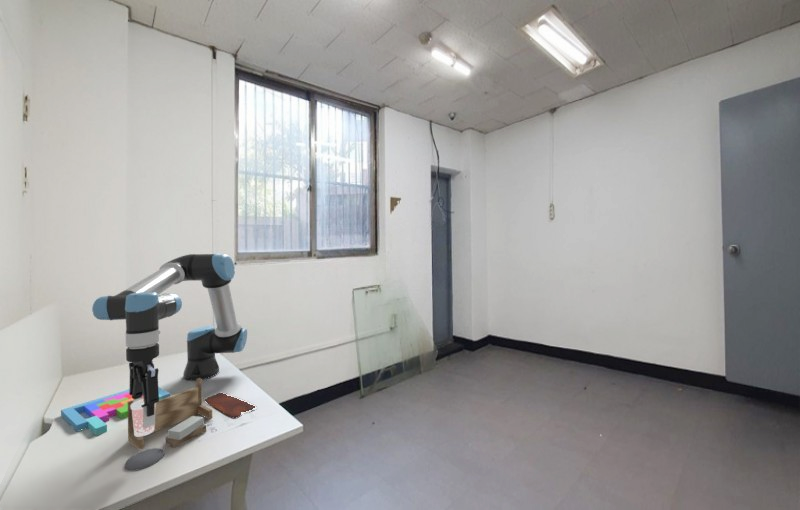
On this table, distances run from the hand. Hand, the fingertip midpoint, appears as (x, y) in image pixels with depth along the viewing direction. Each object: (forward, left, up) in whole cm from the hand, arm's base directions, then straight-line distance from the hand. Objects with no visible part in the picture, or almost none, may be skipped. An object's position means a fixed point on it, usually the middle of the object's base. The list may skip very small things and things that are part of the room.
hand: (144, 422), depth 93 cm
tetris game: (-8, -43, -12) cm, 46 cm away
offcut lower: (-12, -2, -12) cm, 17 cm away
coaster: (0, 0, -11) cm, 11 cm away
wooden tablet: (-32, -12, -12) cm, 36 cm away
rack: (-12, -11, -11) cm, 20 cm away
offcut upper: (-12, -2, -9) cm, 15 cm away
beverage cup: (0, 0, -3) cm, 3 cm away
